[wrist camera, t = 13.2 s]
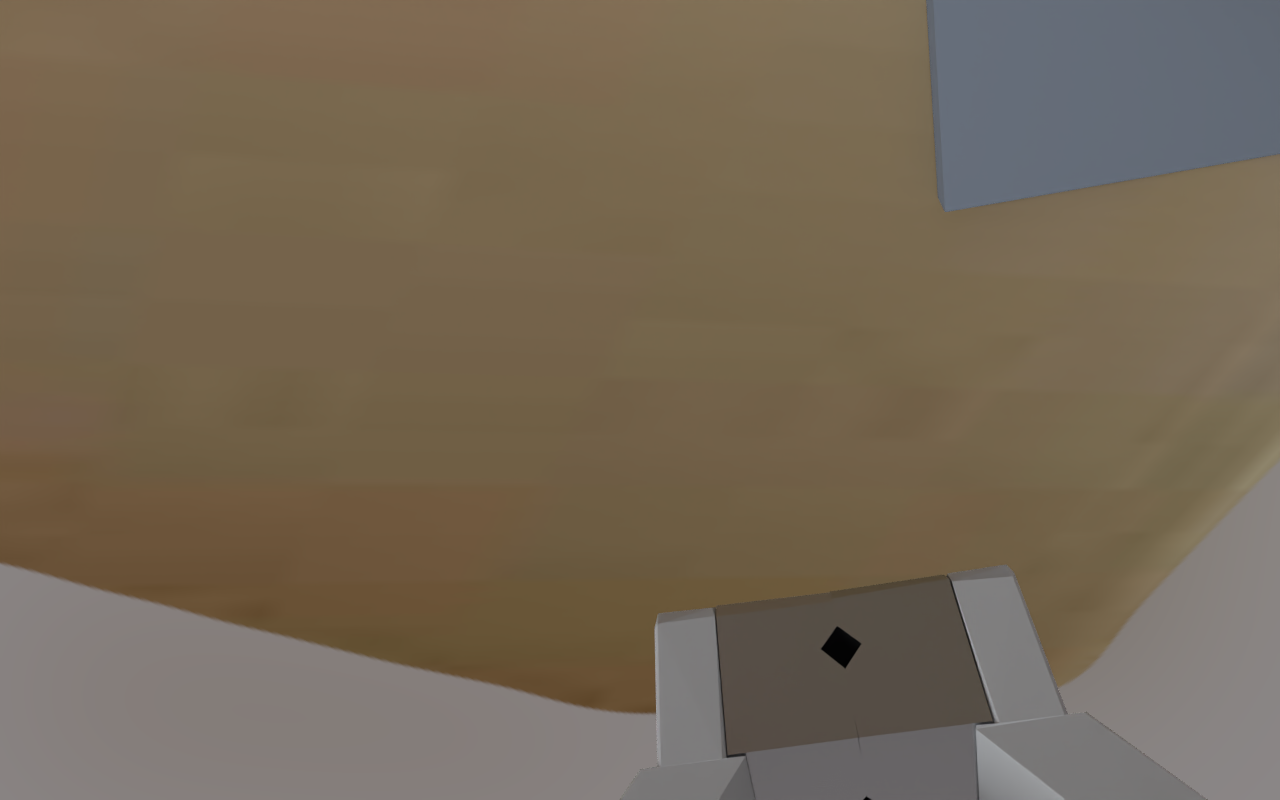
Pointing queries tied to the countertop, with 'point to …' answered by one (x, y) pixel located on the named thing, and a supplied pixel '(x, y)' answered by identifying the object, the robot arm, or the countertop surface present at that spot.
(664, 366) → the countertop surface
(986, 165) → the board
